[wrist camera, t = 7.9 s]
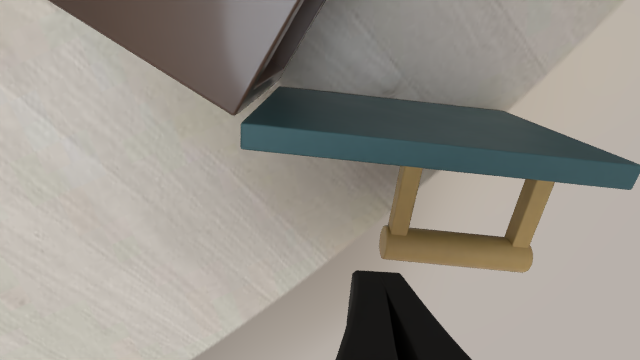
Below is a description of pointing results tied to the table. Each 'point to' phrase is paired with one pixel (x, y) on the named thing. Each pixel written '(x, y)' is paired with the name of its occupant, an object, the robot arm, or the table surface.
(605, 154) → the cabinet door
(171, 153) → the table surface
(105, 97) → the table surface
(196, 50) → the cabinet
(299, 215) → the table surface
